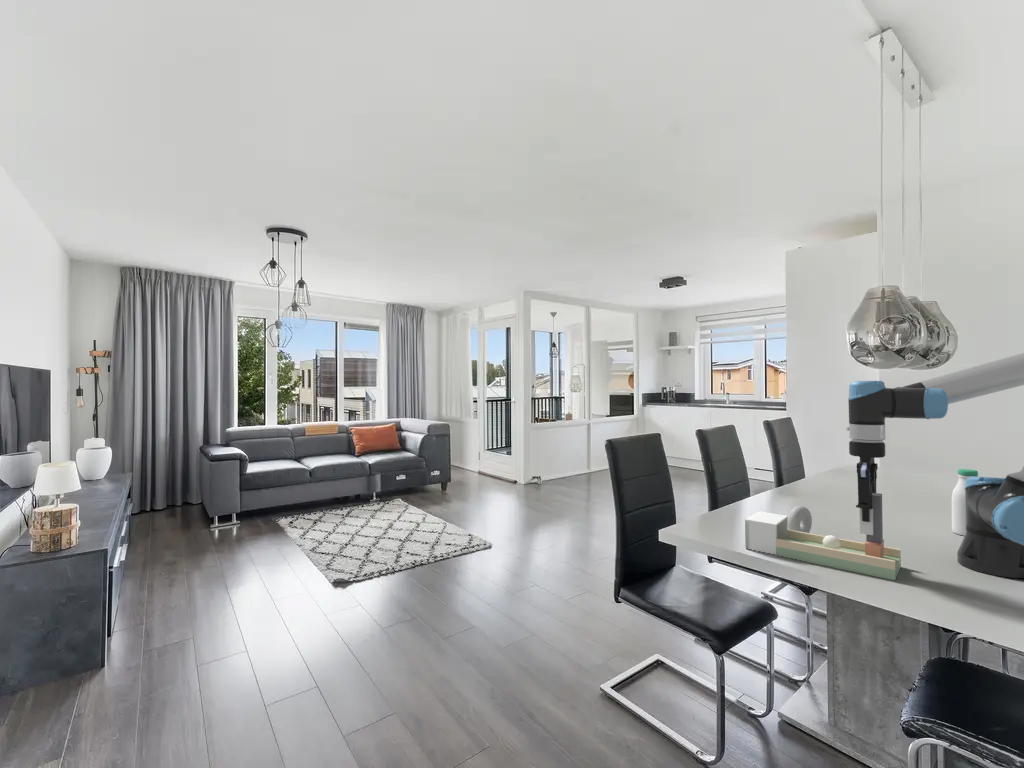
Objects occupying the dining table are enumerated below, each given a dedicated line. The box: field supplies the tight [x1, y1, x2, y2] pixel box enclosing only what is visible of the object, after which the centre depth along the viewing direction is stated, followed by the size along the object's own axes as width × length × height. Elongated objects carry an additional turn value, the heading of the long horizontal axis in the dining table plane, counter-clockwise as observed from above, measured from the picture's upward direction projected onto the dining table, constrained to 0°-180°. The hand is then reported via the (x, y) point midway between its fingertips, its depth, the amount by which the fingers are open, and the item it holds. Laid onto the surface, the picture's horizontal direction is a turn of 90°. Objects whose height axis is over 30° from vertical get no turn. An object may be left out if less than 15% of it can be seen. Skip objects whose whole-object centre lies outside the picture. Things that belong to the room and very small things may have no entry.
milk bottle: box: [951, 468, 979, 537], centre depth 152 cm, size 8×8×20 cm
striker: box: [864, 492, 885, 558], centre depth 125 cm, size 3×7×16 cm, turn 136°
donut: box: [788, 505, 813, 533], centre depth 150 cm, size 10×4×10 cm, turn 122°
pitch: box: [744, 510, 902, 581], centre depth 133 cm, size 34×12×8 cm, turn 46°
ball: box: [823, 535, 841, 550], centre depth 131 cm, size 4×4×4 cm
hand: (867, 531), depth 126 cm, fingers open, 3 cm apart
